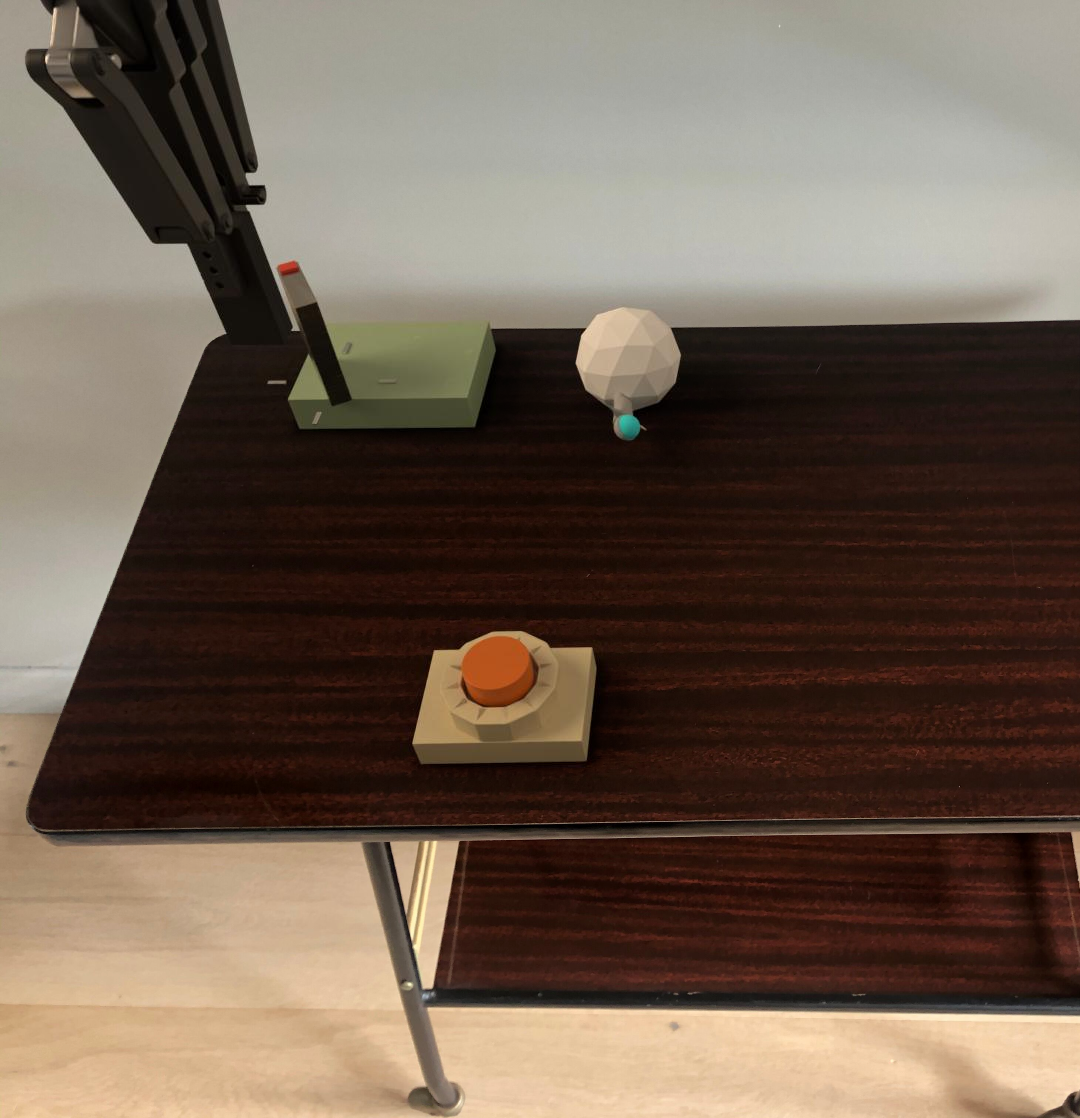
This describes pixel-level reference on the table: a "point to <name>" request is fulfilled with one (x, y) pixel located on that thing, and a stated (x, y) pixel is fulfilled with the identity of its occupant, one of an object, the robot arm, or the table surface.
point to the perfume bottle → (628, 363)
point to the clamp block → (400, 376)
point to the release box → (509, 710)
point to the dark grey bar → (314, 332)
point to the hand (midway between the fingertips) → (262, 335)
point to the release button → (498, 671)
